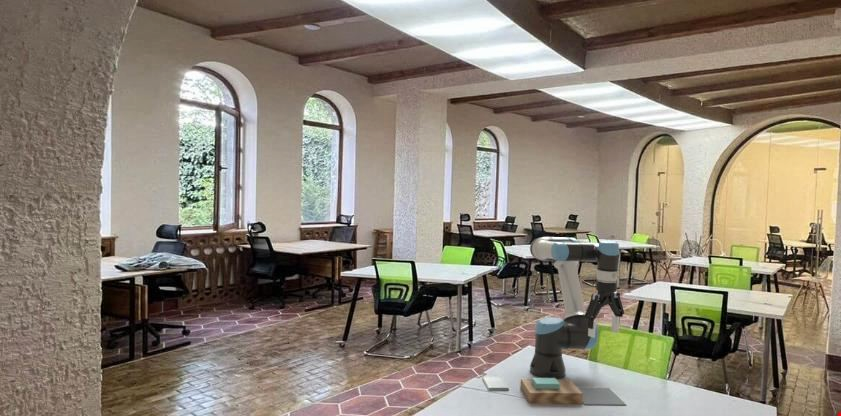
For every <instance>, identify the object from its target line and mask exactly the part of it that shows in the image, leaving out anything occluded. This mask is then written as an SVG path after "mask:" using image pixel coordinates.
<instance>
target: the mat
mask: <svg viewBox="0 0 841 416" xmlns="http://www.w3.org/2000/svg"><path fill="white" fill-rule="evenodd" d="M577 388H578V389H579V390H580V391H581V392H582V393H583V394H582V405H584V406H627V404H626V403H625V401H624V400H622V399H621V398H620V397H619V396H618V395H617V394H616V393H615V392H614V391H612V389H610V387H577Z"/></svg>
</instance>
